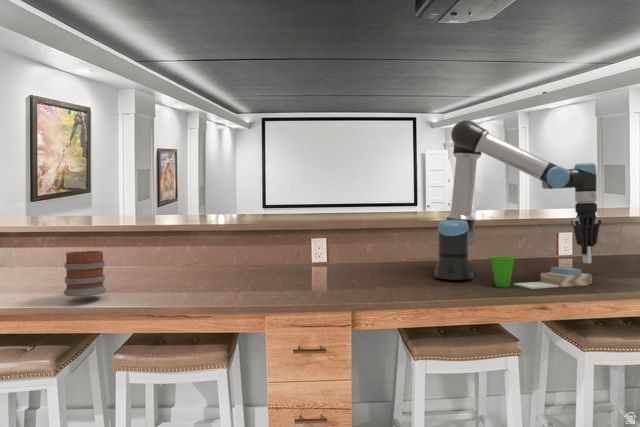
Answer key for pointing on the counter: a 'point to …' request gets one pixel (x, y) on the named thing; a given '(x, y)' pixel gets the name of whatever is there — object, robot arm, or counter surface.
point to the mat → (536, 285)
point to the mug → (84, 273)
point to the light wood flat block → (566, 279)
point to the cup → (502, 270)
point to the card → (565, 271)
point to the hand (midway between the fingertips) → (587, 262)
